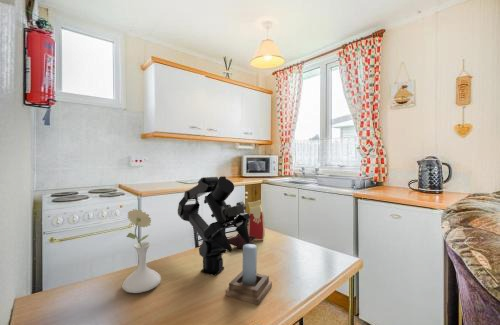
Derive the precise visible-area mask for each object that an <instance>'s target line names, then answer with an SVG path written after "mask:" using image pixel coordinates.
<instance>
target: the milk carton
mask: <svg viewBox="0 0 500 325" xmlns="http://www.w3.org/2000/svg"><path fill="white" fill-rule="evenodd" d="M261 203H262V199H259V200H256V201H251V202H247V204H248V206H249V216H250V217H251V218H250V219H249V222H248V226H247V229H248V234H249V236H251V235H254V236H255V239H254V240H253V241H257V240H265V237H266V236H265V235H266V230H265V229H266V226H265V217H264V212H263V208H262V204H261ZM264 236H265V237H264Z"/></svg>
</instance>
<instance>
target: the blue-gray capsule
mask: <svg viewBox="0 0 500 325" xmlns="http://www.w3.org/2000/svg"><path fill="white" fill-rule="evenodd" d="M257 260H258V246H257V245H256V244H246V245H244V246H243V248H242V271H243V277H242V284H245V285H249V286H253V287H255V286H256V273H258V272H257V266H258V265H257Z"/></svg>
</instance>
